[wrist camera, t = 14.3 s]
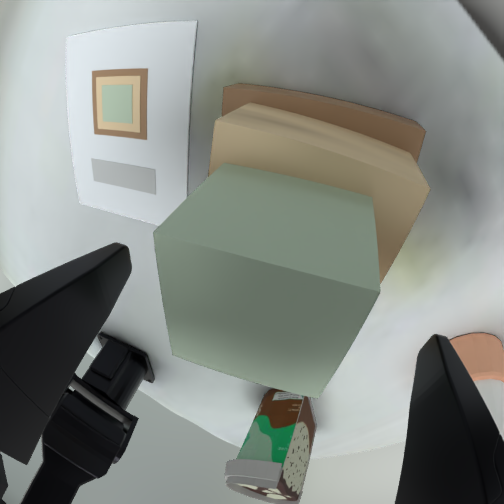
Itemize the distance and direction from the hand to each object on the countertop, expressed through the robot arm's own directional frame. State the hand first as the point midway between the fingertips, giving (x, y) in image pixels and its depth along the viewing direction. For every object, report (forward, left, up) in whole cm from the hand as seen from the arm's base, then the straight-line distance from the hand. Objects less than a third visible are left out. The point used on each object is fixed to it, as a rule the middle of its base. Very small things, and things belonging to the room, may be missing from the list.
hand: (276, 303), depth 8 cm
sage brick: (0, 0, -3) cm, 3 cm away
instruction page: (+1, +11, -8) cm, 14 cm away
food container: (-23, -3, -8) cm, 25 cm away
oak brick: (0, 0, -6) cm, 6 cm away
